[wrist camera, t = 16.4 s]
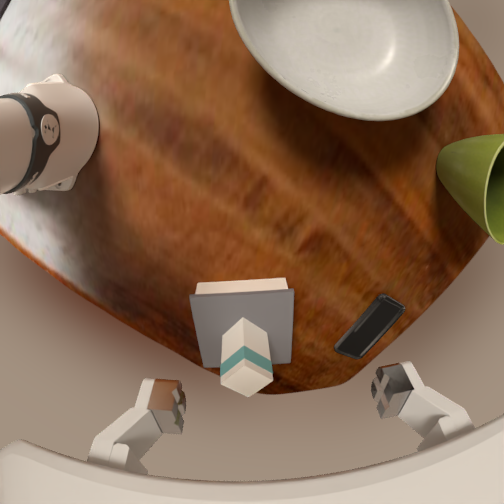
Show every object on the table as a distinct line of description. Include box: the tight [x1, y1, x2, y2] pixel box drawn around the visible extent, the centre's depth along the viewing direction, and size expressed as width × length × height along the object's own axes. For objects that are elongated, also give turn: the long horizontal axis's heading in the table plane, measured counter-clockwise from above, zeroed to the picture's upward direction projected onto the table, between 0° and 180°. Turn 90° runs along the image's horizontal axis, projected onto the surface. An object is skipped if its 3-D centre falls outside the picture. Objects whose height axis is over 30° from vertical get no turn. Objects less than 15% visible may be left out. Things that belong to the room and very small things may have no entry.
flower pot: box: [436, 134, 504, 245], centre depth 33 cm, size 15×15×16 cm
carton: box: [220, 317, 273, 397], centre depth 41 cm, size 5×5×10 cm
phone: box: [334, 294, 405, 359], centre depth 53 cm, size 8×1×15 cm
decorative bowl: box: [229, 0, 459, 121], centre depth 26 cm, size 27×27×12 cm
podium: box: [189, 278, 294, 368], centre depth 48 cm, size 15×15×5 cm
